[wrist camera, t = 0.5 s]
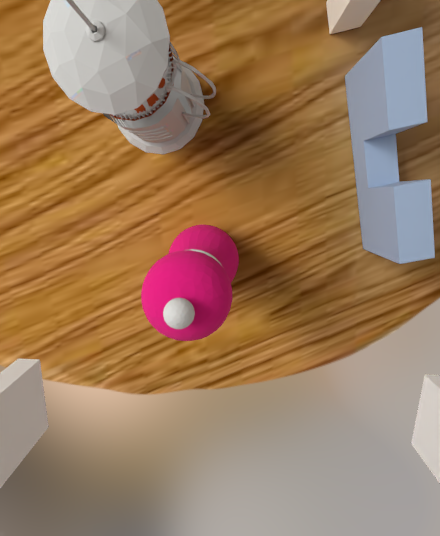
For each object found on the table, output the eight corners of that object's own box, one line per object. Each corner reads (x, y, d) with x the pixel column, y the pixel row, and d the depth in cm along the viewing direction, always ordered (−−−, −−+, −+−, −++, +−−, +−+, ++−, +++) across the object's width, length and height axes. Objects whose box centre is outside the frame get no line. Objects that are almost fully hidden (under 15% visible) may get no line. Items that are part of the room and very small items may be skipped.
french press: (124, 38, 32) (-243, -489, 7) (233, 76, 32) (231, -303, 8) (102, 137, 34) (-234, -11, 9) (204, 171, 34) (132, 114, 10)
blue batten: (344, 76, 31) (381, 36, 24) (375, 68, 31) (422, 26, 23) (363, 248, 35) (399, 264, 28) (390, 243, 35) (434, 257, 27)
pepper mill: (241, 224, 35) (250, 260, 16) (235, 285, 37) (236, 385, 17) (177, 218, 35) (110, 247, 16) (174, 279, 37) (109, 372, 18)
